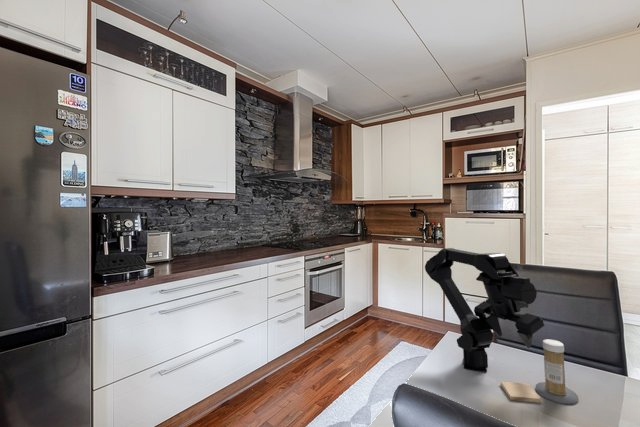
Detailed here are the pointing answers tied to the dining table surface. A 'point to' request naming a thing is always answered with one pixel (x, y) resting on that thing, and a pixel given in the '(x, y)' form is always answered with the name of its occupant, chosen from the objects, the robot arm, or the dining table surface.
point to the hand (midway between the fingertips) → (514, 341)
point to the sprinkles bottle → (554, 367)
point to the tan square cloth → (520, 392)
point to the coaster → (565, 399)
